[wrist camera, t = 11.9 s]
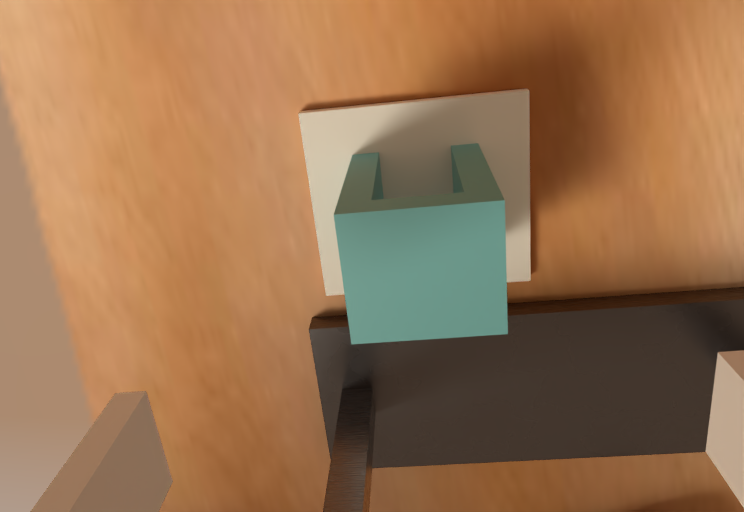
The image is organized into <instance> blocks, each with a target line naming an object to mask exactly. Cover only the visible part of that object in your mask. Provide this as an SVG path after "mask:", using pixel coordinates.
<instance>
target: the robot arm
mask: <svg viewBox="0 0 744 512" xmlns="http://www.w3.org/2000/svg"><path fill="white" fill-rule="evenodd" d="M706 453H707V454H708V456H709V457H710V459H711V460H712V462H713V463H714V465H715V466H716V468H717V469H718V471H719V472H720V474H721V475H722V477H723V478H724V480H725V481H726V482H727V484H728V485H729V487H730V488H731V490H732V491H733V493H734V494H735V496H736V497H737V499H738V500H739V502H740V503H741V505H742V506H743V508H744V350H742V351H727V352H718V355H717V363H716V371H715V379H714V387H713V395H712V403H711V411H710V419H709V427H708V435H707V443H706ZM172 482H173V481H172V478H171V474H170V471H169V467H168V464H167V460H166V457H165V454H164V450H163V447H162V443H161V440H160V437H159V433H158V430H157V426H156V423H155V419H154V416H153V413H152V409H151V406H150V402H149V399H148V395H147V392H146V391H141V392H126V393H115V394H114V396H113V397H112V399H111V400H110V401H109V403H108V404H107V406H106V407H105V408H104V410H103V411H102V413H101V414H100V415H99V417H98V418H97V420H96V421H95V422H94V424H93V425H92V427H91V428H90V429H89V431H88V432H87V434H86V435H85V436H84V438H83V439H82V441H81V442H80V443H79V445H78V446H77V448H76V449H75V450H74V452H73V453H72V455H71V456H70V457H69V459H68V460H67V462H66V463H65V464H64V466H63V467H62V469H61V470H60V471H59V473H58V474H57V476H56V477H55V478H54V480H53V481H52V483H51V484H50V485H49V487H48V488H47V490H46V491H45V492H44V494H43V495H42V496H41V498H40V499H39V501H38V502H37V503H36V505H35V506H34V508H33V509H32V511H31V512H159V510H160V508H161V506H162V503H163V501H164V499H165V497H166V495H167V493H168V490H169V488H170V486H171V484H172Z"/></svg>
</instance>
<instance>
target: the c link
mask: <svg viewBox="0 0 744 512" xmlns="http://www.w3.org/2000/svg"><path fill="white" fill-rule="evenodd" d="M451 160H452V177H453V193H449V194H437V195H426V196H414V197H402V198H391V199H384V197H383V187H382V177H381V168H380V158H379V152H377V153H366V154H355V155H352V158H351V161H350V164H349V167H348V170H347V173H346V177H345V180H344V183H343V186H342V189H341V193H340V196H339V199H338V202H337V205H336V209H335V212H334V222H335V229H336V236H337V243H338V250H339V258H340V265H341V272H342V279H343V287H344V294H345V301H346V308H347V316H348V323H349V330H350V337H351V344H365V343H381V342H396V341H411V340H426V339H441V338H456V337H472V336H487V335H502V334H508V318H507V273H506V229H505V200H504V197H503V195H502V193H501V191H500V189H499V187H498V185H497V182H496V180H495V178H494V176H493V174H492V172H491V170H490V168H489V165H488V163H487V161H486V159H485V157H484V155H483V153H482V151H481V148H480V146H479V144H478V143H474V144H463V145H452V146H451Z"/></svg>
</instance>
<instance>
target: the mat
mask: <svg viewBox="0 0 744 512" xmlns="http://www.w3.org/2000/svg"><path fill="white" fill-rule="evenodd" d="M298 115H299V121H300V128H301V134H302V141H303V147H304V154H305V161H306V167H307V174H308V180H309V187H310V193H311V200H312V207H313V213H314V220H315V226H316V233H317V239H318V246H319V253H320V259H321V266H322V272H323V279H324V286H325V292H326V296H329V295H343V294H344V287H343V279H342V272H341V265H340V258H339V250H338V243H337V236H336V229H335V222H334V212H335V209H336V205H337V202H338V199H339V196H340V193H341V189H342V186H343V183H344V180H345V177H346V173H347V170H348V167H349V164H350V161H351V158H352V155H355V154H366V153H377V152H379V158H380V168H381V177H382V187H383V197H384V199H391V198H402V197H414V196H426V195H437V194H449V193H453V177H452V160H451V146H452V145H463V144H474V143H478V144H479V146H480V148H481V151H482V153H483V155H484V157H485V159H486V161H487V163H488V165H489V168H490V170H491V172H492V174H493V176H494V178H495V180H496V182H497V185H498V187H499V189H500V191H501V193H502V195H503V197H504V200H505V229H506V273H507V282H519V281H531V261H530V101H529V90H528V89H517V90H507V91H497V92H487V93H477V94H467V95H457V96H447V97H437V98H427V99H417V100H407V101H397V102H387V103H377V104H367V105H357V106H347V107H337V108H327V109H317V110H307V111H300V112H299V113H298Z"/></svg>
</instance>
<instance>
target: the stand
mask: <svg viewBox="0 0 744 512" xmlns="http://www.w3.org/2000/svg"><path fill="white" fill-rule="evenodd" d="M507 318H508V334H502V335H487V336H472V337H456V338H441V339H426V340H411V341H396V342H381V343H365V344H351V337H350V330H349V323H348V316H347V315H343V316H328V317H314V318H312V320H311V324H310V327H309V333H310V339H311V345H312V351H313V357H314V363H315V369H316V375H317V380H318V386H319V392H320V398H321V404H322V410H323V416H324V422H325V428H326V434H327V440H328V446H329V452H330V458H331V463H330V470H329V476H328V482H327V489H326V495H325V502H324V508H323V512H369V505H370V490H371V475H372V468H384V467H405V466H425V465H446V464H467V463H487V462H508V461H528V460H549V459H569V458H590V457H610V456H631V455H651V454H672V453H693V452H706V443H707V435H708V427H709V419H710V411H711V403H712V395H713V387H714V379H715V371H716V363H717V355H718V352H727V351H742V350H744V287H740V288H726V289H711V290H697V291H683V292H669V293H655V294H640V295H626V296H612V297H598V298H584V299H569V300H555V301H541V302H527V303H513V304H507Z"/></svg>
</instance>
